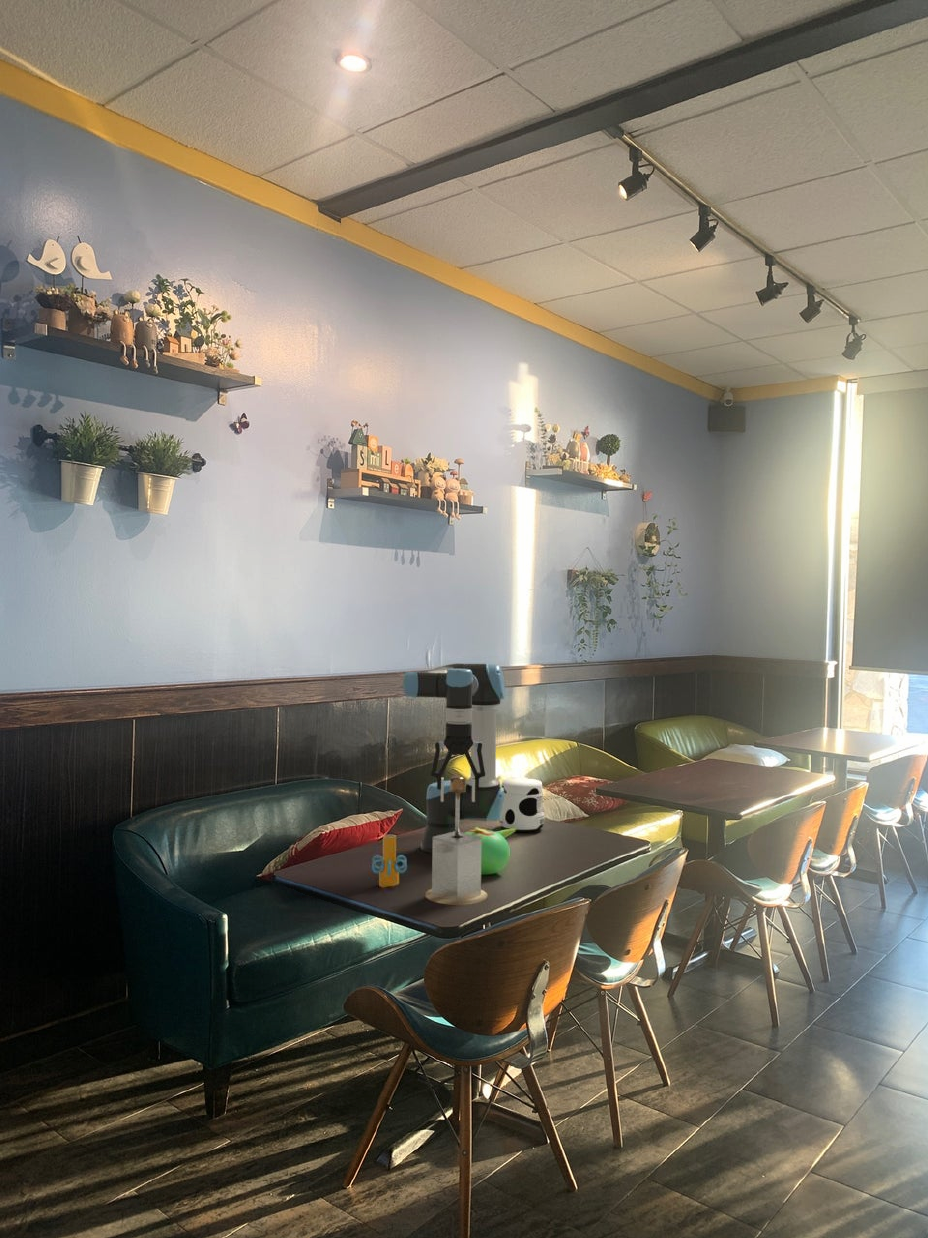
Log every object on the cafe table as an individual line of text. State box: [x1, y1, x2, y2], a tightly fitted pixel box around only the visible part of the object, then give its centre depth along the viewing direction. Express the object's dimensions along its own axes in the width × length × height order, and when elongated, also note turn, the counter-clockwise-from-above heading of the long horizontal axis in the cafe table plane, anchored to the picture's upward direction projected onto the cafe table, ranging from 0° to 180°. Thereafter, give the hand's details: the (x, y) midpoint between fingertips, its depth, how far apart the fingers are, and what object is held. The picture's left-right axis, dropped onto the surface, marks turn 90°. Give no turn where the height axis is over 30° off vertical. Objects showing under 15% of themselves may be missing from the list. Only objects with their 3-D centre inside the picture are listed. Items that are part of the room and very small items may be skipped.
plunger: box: [449, 775, 467, 839], centre depth 272 cm, size 7×7×20 cm
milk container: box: [498, 777, 546, 833], centre depth 356 cm, size 17×17×18 cm
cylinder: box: [371, 833, 408, 889], centre depth 282 cm, size 12×10×15 cm
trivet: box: [424, 888, 488, 906], centre depth 272 cm, size 18×18×1 cm
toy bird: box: [464, 826, 516, 876], centre depth 297 cm, size 18×17×15 cm
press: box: [431, 831, 482, 902], centre depth 272 cm, size 10×16×17 cm, turn 137°
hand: (457, 800), depth 272 cm, fingers open, 8 cm apart
